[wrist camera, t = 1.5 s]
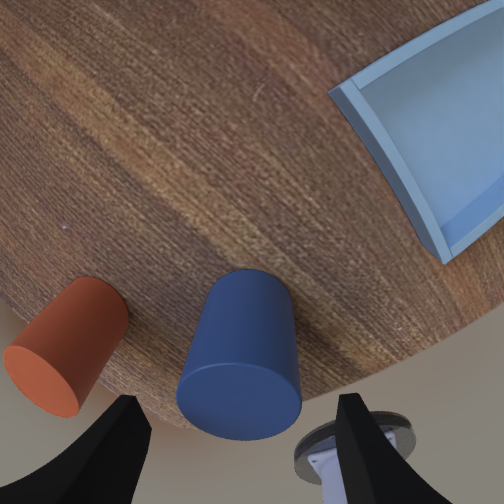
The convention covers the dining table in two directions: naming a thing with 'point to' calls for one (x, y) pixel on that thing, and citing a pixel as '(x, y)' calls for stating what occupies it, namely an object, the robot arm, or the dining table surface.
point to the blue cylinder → (243, 360)
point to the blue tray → (438, 126)
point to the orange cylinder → (67, 346)
